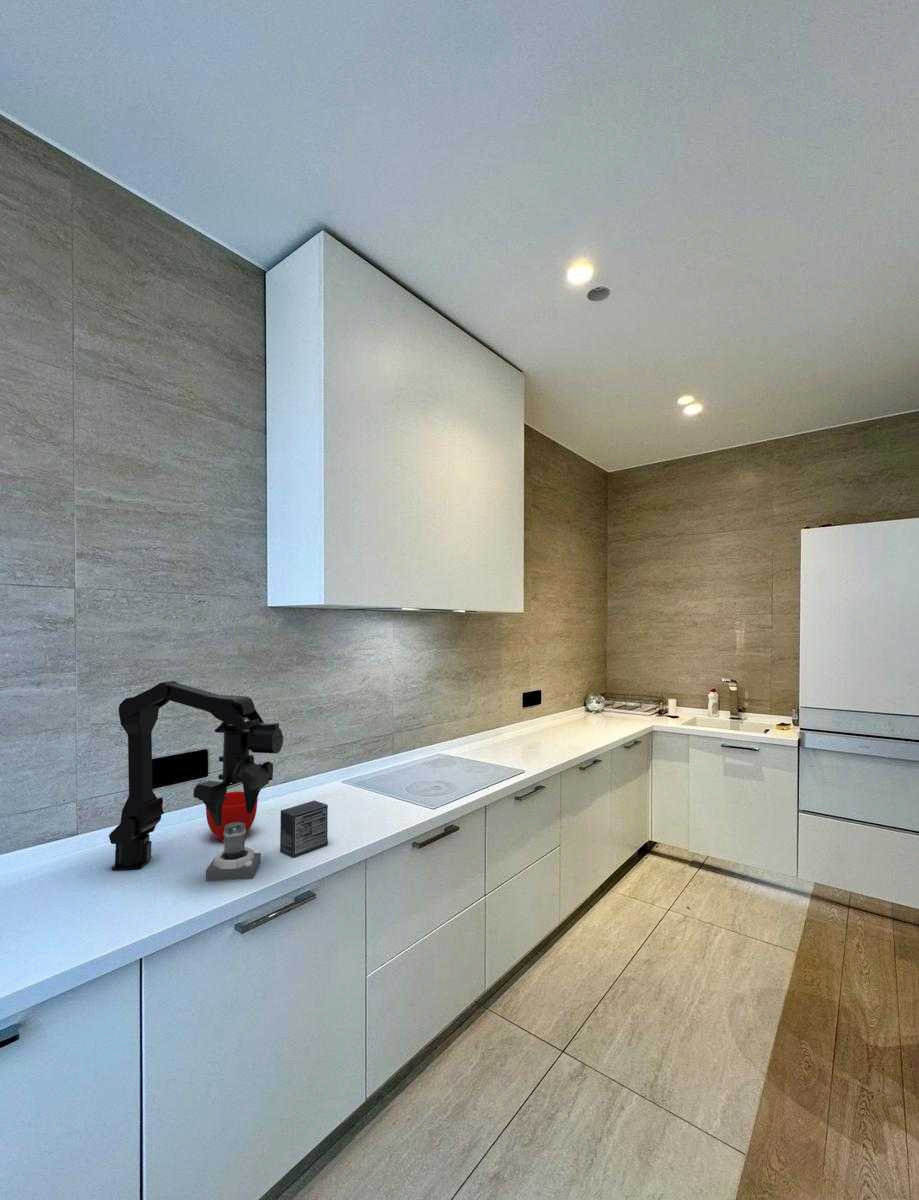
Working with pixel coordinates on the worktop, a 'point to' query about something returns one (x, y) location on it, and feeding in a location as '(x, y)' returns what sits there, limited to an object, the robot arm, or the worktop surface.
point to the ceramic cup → (232, 814)
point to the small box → (303, 828)
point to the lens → (234, 841)
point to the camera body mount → (233, 867)
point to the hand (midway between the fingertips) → (234, 819)
